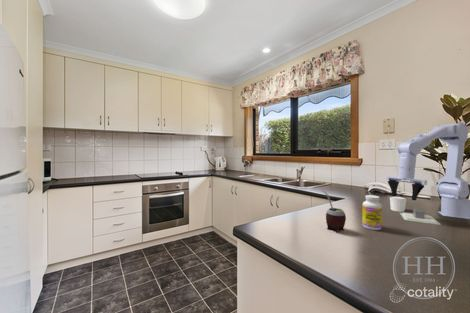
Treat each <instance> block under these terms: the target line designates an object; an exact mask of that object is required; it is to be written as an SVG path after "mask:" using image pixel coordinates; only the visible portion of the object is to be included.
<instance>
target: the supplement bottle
mask: <svg viewBox="0 0 470 313" xmlns="http://www.w3.org/2000/svg"><path fill="white" fill-rule="evenodd" d="M379 201H380V196H378V195H371V194H367V195H365V201H363V202H362V213H361V214H362V216H361V218H362V220H361V222H362V227H363V228H364V229H368V230H372V231H381V229H382V226H383V224H382V222H383V218H382V217H383V204H382V203H381V202H379Z"/></svg>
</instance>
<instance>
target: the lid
mask: <svg viewBox="0 0 470 313" xmlns="http://www.w3.org/2000/svg"><path fill="white" fill-rule="evenodd" d="M402 213H403V215H404V216H405V218H406V219H407V220H406V221H409V220H414V221H413V222H416V221H422V222H421V223H424V222H430V223H429V224H432V223H437V220H436V219H435V218H434V217H433V216H431V215H426V214H425V213H426V212H425V211H424V210H422V208H421V209H419V208H413V209H412V213H410V212H402ZM432 217H433V218H434V219H435V220H436V221H435V220H434V219H433V218H432Z"/></svg>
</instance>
